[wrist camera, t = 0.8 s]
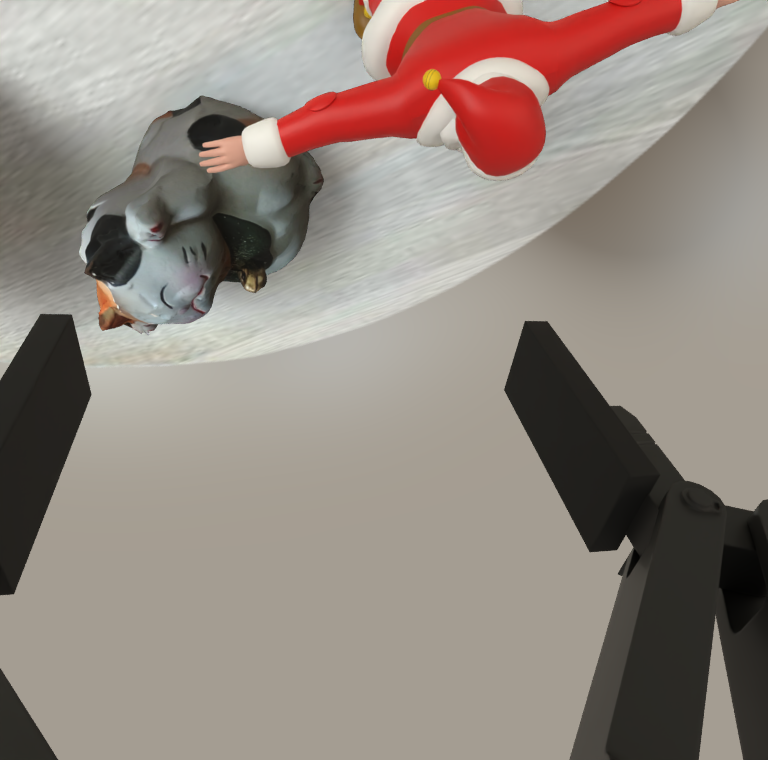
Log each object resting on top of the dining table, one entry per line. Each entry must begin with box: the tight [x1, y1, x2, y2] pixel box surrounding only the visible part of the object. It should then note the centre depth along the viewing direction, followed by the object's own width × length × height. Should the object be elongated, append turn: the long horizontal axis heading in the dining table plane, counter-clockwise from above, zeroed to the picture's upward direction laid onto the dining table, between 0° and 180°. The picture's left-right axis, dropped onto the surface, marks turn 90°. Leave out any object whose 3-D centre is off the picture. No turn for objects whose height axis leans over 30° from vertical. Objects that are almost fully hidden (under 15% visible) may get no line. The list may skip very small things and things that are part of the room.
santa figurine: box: [199, 0, 738, 181], centre depth 27 cm, size 25×6×19 cm, turn 103°
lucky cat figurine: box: [79, 96, 324, 335], centre depth 37 cm, size 15×12×14 cm
